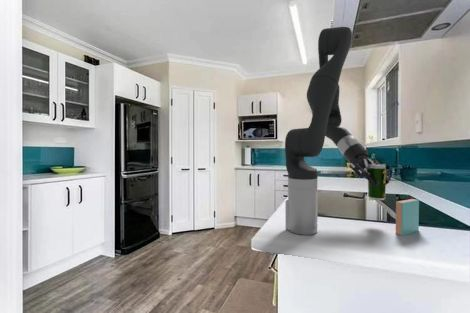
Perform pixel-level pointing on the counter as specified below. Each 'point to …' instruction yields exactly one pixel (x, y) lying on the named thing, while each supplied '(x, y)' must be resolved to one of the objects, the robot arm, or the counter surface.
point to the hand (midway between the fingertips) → (381, 184)
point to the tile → (407, 216)
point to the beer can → (380, 176)
